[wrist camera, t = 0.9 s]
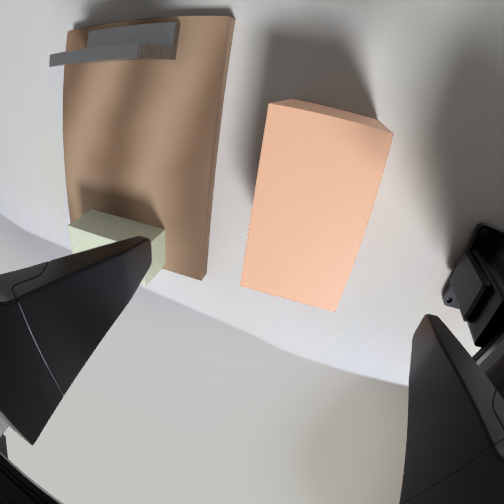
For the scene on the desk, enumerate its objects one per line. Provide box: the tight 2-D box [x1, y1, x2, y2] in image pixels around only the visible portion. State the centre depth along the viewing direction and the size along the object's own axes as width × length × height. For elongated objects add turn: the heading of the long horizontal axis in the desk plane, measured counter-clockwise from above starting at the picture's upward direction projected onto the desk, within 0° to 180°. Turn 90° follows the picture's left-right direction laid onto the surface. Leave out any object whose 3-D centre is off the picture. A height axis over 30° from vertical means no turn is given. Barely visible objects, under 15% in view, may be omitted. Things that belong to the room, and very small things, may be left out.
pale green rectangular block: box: [68, 209, 166, 286], centre depth 22 cm, size 7×3×3 cm, turn 82°
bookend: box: [49, 22, 181, 67], centre depth 14 cm, size 7×2×4 cm, turn 82°
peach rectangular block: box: [240, 99, 393, 312], centre depth 16 cm, size 5×9×6 cm, turn 172°
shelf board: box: [63, 16, 235, 280], centre depth 20 cm, size 13×18×1 cm
